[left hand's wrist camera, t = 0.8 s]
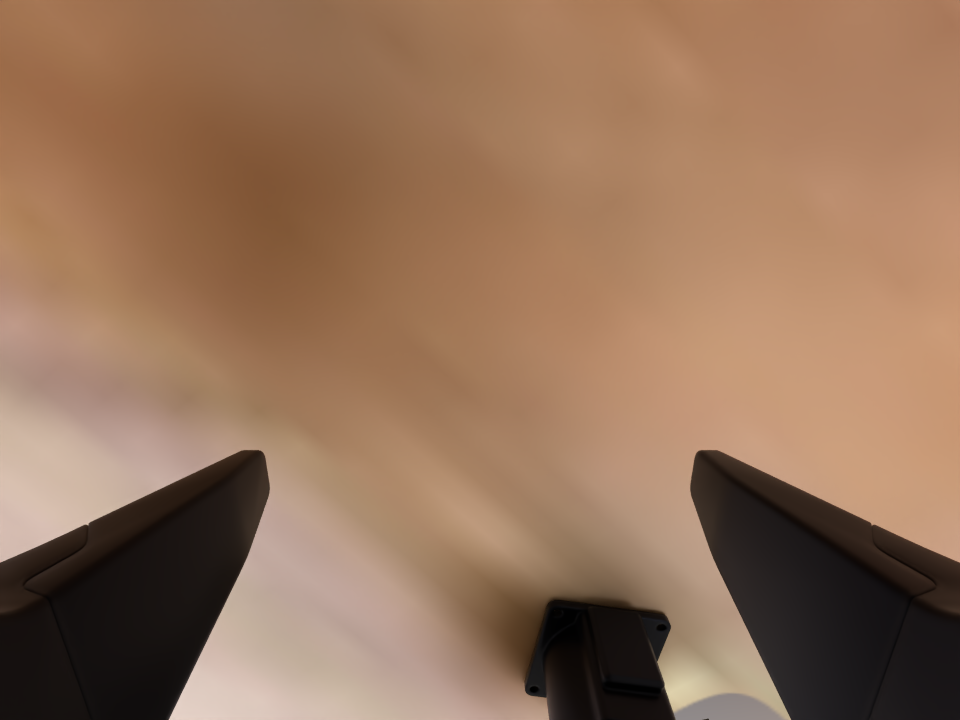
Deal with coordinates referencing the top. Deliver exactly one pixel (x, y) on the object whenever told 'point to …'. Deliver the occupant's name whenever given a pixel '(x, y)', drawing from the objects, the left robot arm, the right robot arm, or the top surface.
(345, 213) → the top surface
